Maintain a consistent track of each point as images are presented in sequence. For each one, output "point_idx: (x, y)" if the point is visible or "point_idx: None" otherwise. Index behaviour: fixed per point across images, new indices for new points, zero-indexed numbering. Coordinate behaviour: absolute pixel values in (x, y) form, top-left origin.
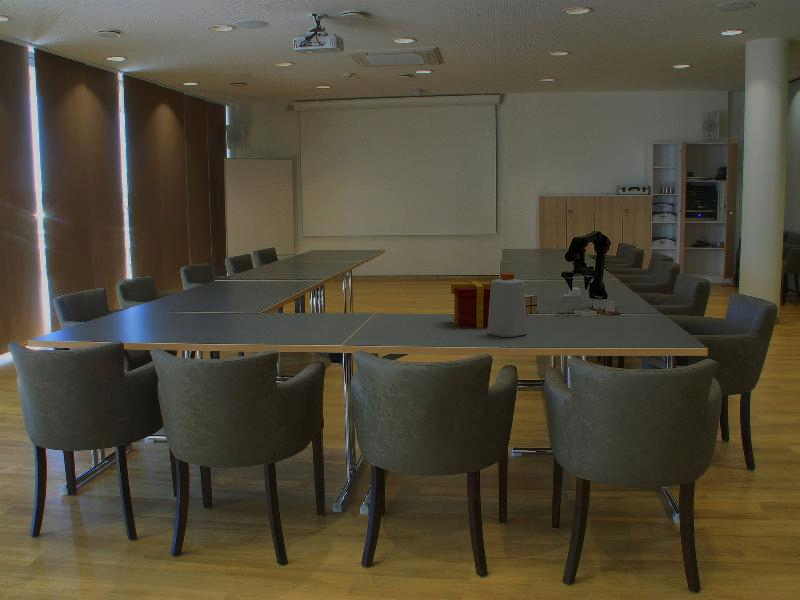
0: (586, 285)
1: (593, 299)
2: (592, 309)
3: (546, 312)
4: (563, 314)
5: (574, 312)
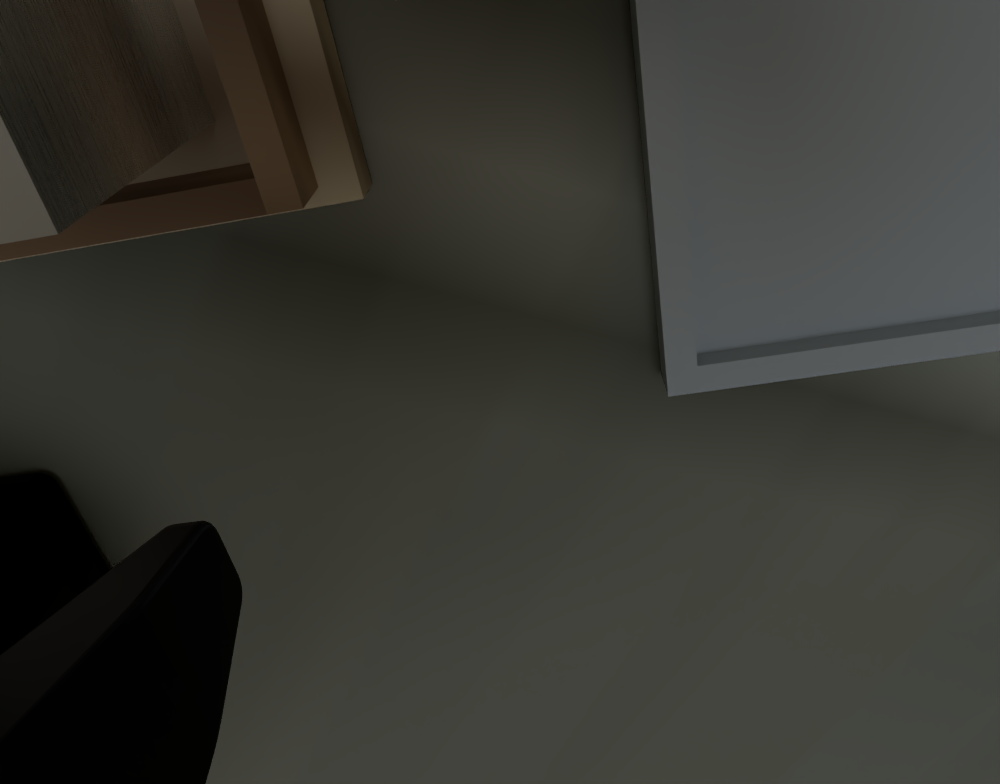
0: (90, 724)
1: (60, 215)
2: (197, 186)
3: (971, 541)
4: (984, 102)
5: (668, 173)
